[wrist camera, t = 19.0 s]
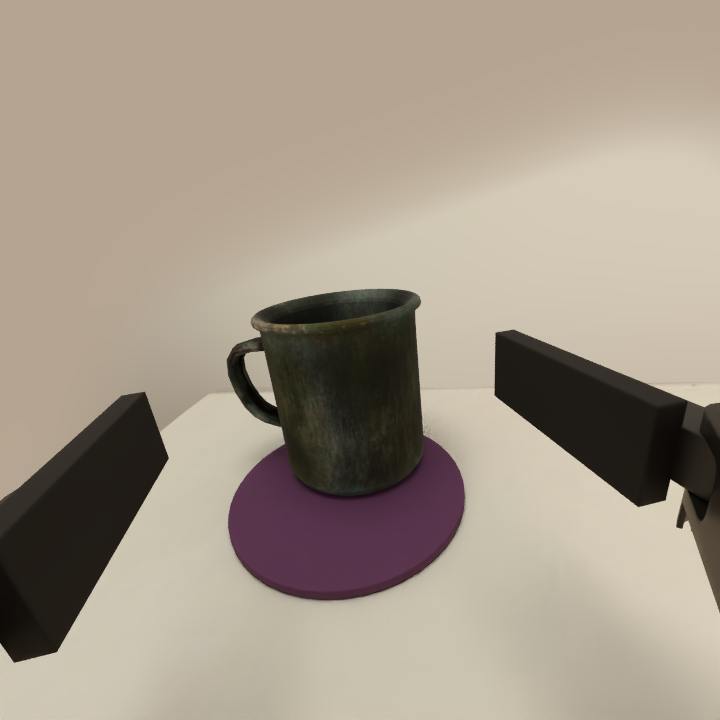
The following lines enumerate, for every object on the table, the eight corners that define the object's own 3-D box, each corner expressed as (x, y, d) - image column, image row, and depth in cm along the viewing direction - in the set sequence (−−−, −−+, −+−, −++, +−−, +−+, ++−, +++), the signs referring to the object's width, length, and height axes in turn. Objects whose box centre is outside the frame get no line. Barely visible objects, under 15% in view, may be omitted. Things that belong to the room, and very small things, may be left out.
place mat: (224, 466, 29) (222, 460, 29) (393, 411, 35) (392, 406, 34) (241, 664, 15) (238, 655, 15) (522, 521, 20) (522, 513, 20)
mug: (430, 510, 21) (417, 318, 17) (217, 500, 24) (164, 336, 20) (430, 419, 31) (422, 283, 27) (279, 420, 34) (251, 299, 30)
